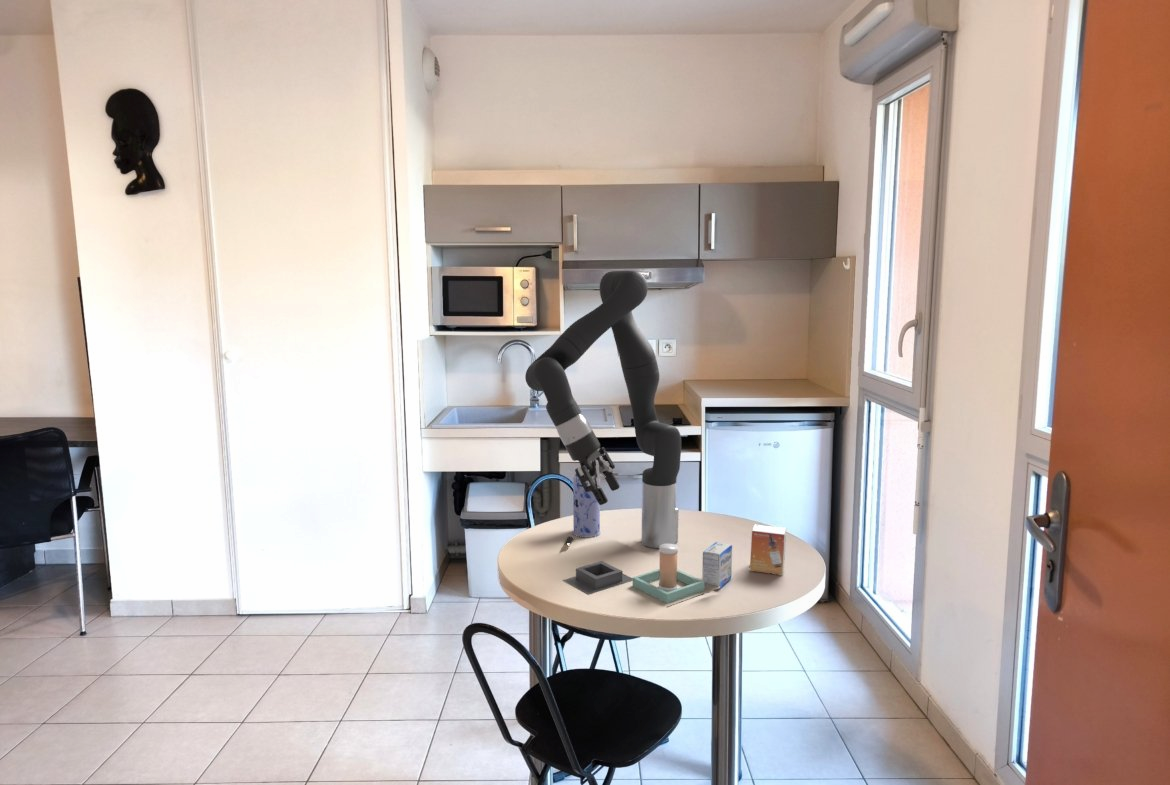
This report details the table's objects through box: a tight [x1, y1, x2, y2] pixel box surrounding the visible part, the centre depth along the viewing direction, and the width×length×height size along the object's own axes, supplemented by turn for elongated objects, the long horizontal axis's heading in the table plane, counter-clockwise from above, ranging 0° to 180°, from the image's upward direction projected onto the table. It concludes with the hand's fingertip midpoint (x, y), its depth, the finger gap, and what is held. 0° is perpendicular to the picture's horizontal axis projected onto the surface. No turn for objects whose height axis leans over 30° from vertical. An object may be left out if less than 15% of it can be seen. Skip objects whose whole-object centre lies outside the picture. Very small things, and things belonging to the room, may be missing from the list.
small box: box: [749, 524, 787, 576], centre depth 179 cm, size 8×6×10 cm
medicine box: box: [701, 541, 733, 591], centre depth 171 cm, size 8×4×9 cm, turn 148°
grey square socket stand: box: [562, 560, 633, 596], centre depth 170 cm, size 14×10×4 cm
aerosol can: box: [572, 473, 601, 539], centre depth 204 cm, size 8×8×20 cm
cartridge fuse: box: [658, 544, 679, 592], centre depth 165 cm, size 4×4×10 cm
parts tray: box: [632, 568, 705, 608], centre depth 166 cm, size 12×12×3 cm
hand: (610, 496), depth 170 cm, fingers open, 8 cm apart
